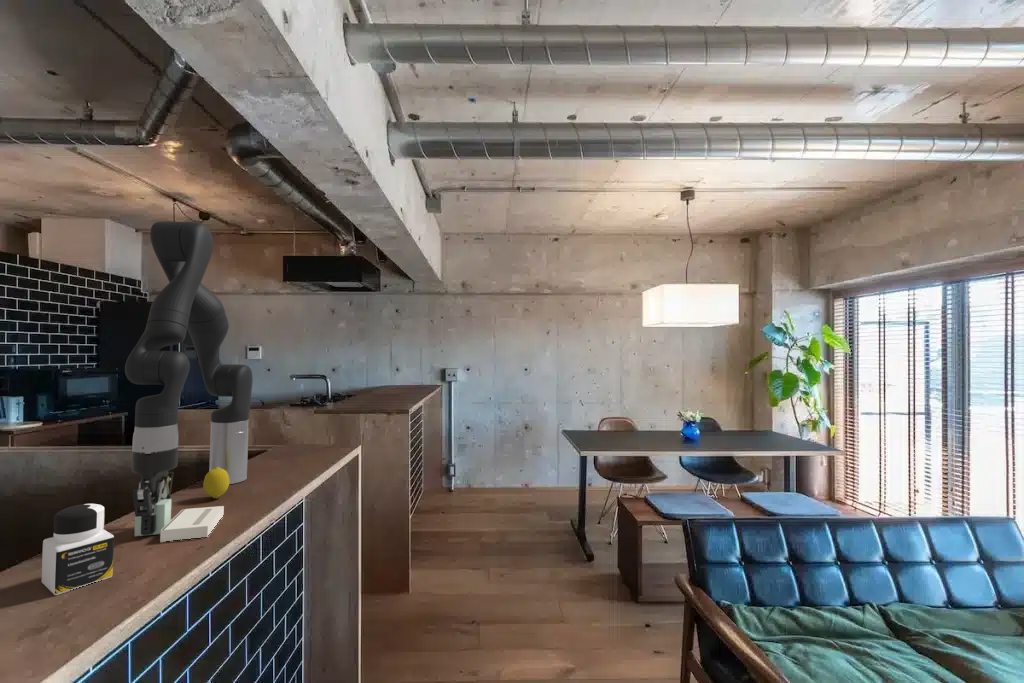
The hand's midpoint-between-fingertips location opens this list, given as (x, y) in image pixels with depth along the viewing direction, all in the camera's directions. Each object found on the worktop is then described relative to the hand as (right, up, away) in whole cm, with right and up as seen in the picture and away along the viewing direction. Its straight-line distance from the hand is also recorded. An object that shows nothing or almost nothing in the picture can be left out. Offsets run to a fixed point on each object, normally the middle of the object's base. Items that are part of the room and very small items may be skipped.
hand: (152, 528), depth 94 cm
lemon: (-1, -1, +21) cm, 21 cm away
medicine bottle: (+3, -1, -19) cm, 19 cm away
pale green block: (0, -1, 0) cm, 1 cm away
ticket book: (+7, -1, +2) cm, 7 cm away
